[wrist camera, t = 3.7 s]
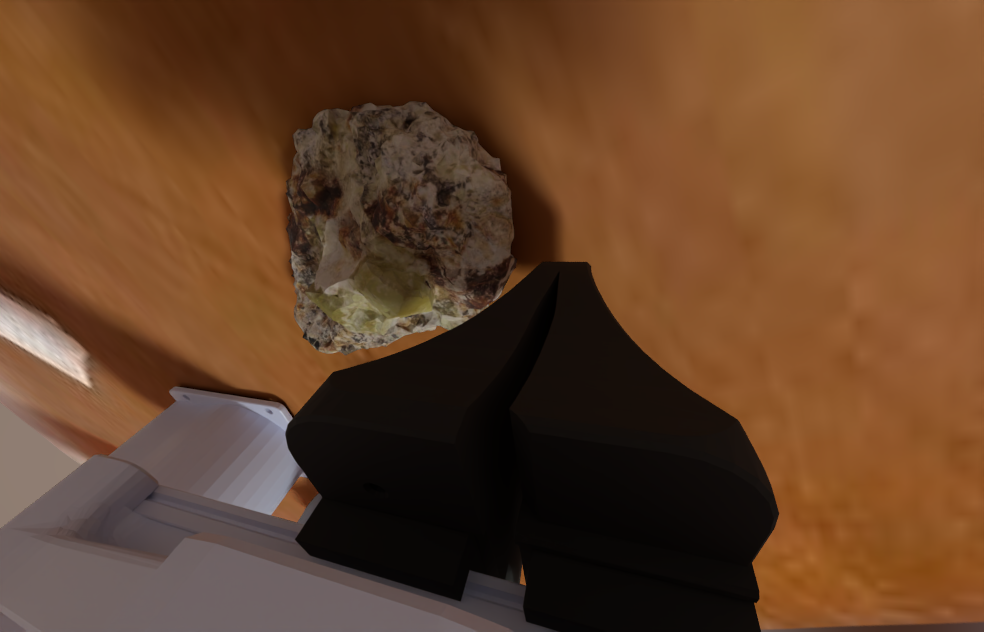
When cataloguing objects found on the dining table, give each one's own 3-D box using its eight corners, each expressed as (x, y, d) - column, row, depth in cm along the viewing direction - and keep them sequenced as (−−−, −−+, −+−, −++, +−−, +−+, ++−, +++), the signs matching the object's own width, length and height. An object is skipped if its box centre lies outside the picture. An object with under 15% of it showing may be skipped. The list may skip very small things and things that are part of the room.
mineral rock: (299, -37, 7) (542, 301, 7) (435, 21, 10) (594, 248, 11) (204, 262, 13) (335, 431, 14) (306, 236, 17) (408, 372, 17)
